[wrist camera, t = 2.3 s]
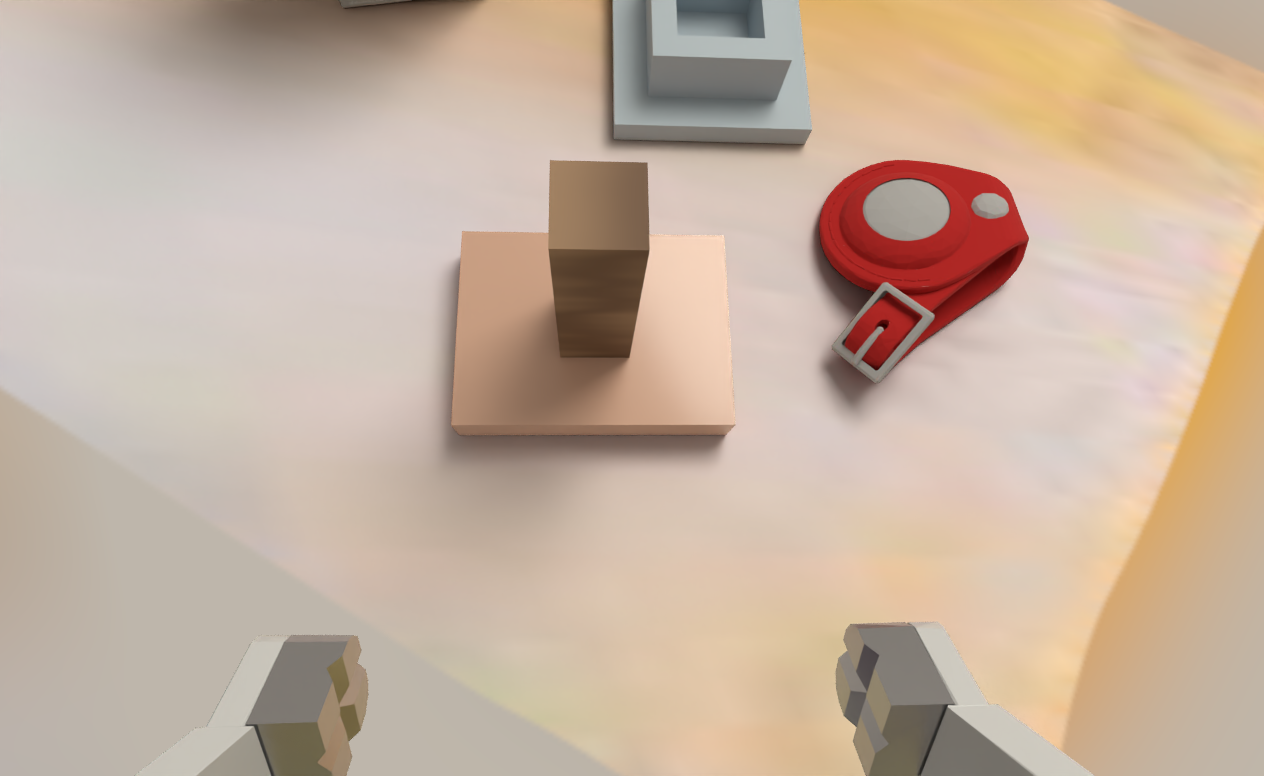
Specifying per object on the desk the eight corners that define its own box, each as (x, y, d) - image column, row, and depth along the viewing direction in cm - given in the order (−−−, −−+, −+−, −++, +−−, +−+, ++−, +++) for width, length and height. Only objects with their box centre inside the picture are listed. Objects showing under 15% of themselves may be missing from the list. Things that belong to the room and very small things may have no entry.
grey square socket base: (613, 139, 36) (616, 85, 32) (611, -17, 38) (614, -84, 35) (804, 144, 36) (830, 91, 32) (789, -9, 39) (811, -75, 35)
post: (560, 357, 30) (548, 248, 20) (561, 293, 31) (550, 160, 21) (629, 357, 30) (649, 250, 21) (628, 294, 31) (647, 162, 21)
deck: (459, 435, 31) (450, 425, 29) (469, 251, 33) (462, 231, 31) (726, 434, 32) (735, 424, 30) (716, 255, 34) (724, 235, 32)
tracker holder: (799, 158, 35) (1009, 122, 34) (797, 218, 39) (986, 188, 37) (844, 364, 29) (1101, 331, 28) (837, 410, 33) (1063, 384, 31)
